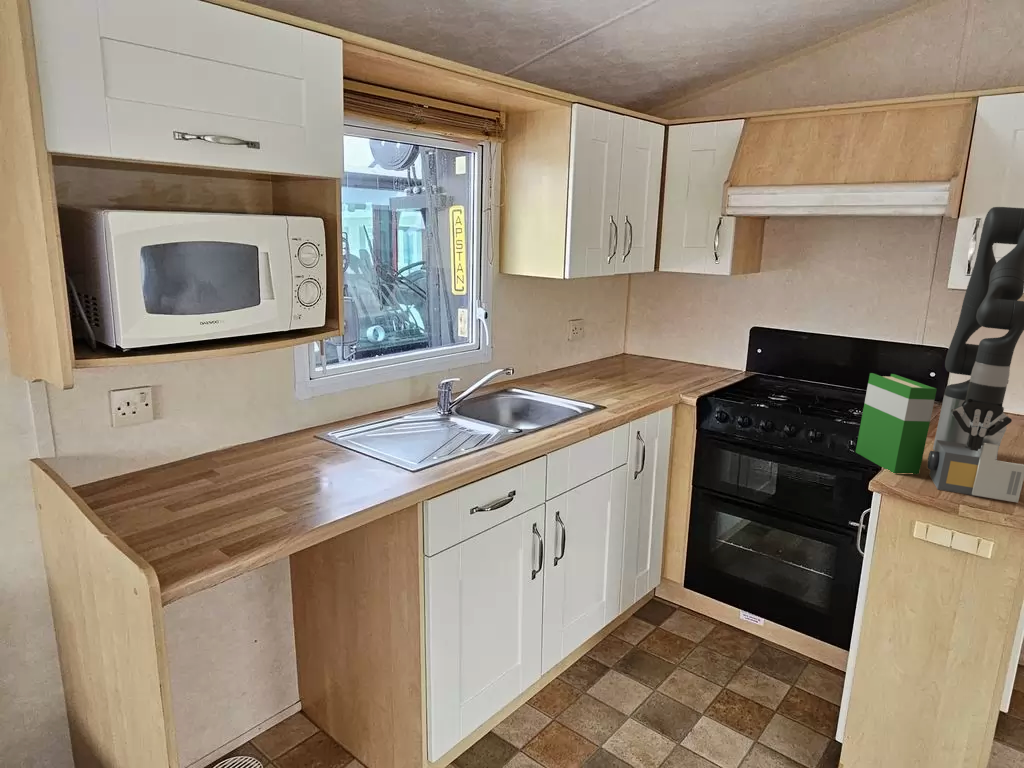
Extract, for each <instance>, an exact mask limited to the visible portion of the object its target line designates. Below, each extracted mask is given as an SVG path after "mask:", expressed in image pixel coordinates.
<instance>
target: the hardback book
mask: <svg viewBox="0 0 1024 768" xmlns="http://www.w3.org/2000/svg"><path fill="white" fill-rule="evenodd" d="M936 395H937V388H936V387H934V386H929V385H926V384H924V383H921V382H918V381H915V380H912V379H910V378H906V377H904V376H900V375H898V374H895V373H890V376H886V375H885V376H884V375H883V376H881V375H879V374H877V373H873V372H869V376H868V382H867V387H866V394H865V398H864V405H863V410H862V415H861V421H860V425H859V430H858V436H857V443H856V448H855V453H856V454H858V455H859V456H861V457H862V458H865V459H866V460H869V461H870V462H872V463H873V464H876V465H878V467H881V468H882V469H885V470H886V469H888V470H890V471H891V472H893V473H913V474H912V475H920V473H921V466H922V462H923V456H924V454H925V453H924V451H925V448H926V443H927V438H928V433H929V429H930V424H931V419H932V415H933V409H934V406H935V405H934V404H935V399H936ZM888 470H887V471H888ZM890 471H889V472H890ZM891 472H890V473H891ZM893 473H892V474H893Z"/></svg>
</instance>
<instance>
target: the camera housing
mask: <svg viewBox="0 0 1024 768" xmlns="http://www.w3.org/2000/svg"><path fill="white" fill-rule="evenodd" d="M981 450H982V448H980V449H978V451H974V450H970V449H969V447H968V446H967V443H966V444H962V443H955V442H949V441H942V440H936V445H935V450H934V449H933V450H930V451H929V452H928V456H927V464H926V465H927V470H929V474H928V475H929V477H930V478H931V481H932V482H933V484H934V485H935V487H936V489H937V490H939V491H940V490H941V491H947V492H950V493H957V494H962V495H967V496H968V495H969V496H973V497H974V496H976V495H972V490H973V485H974V481H975V476H976V472H977V468H978V463H979V459H980V455H981ZM976 497H977V496H976ZM979 497H980V498H983V497H982V496H979Z"/></svg>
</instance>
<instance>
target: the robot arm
mask: <svg viewBox="0 0 1024 768" xmlns="http://www.w3.org/2000/svg"><path fill="white" fill-rule="evenodd" d="M994 244H1002V245H1003V244H1004V245H1005V244H1006V245H1015V246H1014V247H1013V248H1012V249H1011V250H1010V251H1009V252H1007V254H1005V255H1004V256H1003V257H1001V258H1000V259H998V261H997V260H996V257H995V253H994V249H993V248H994V246H993V245H994ZM1023 295H1024V208H1023V207H1010V206H1009V207H1008V206H1007V207H1006V206H993V207H991V208H990V209H989V210H988V212H987V213H986V215H985V218H984V221H983V224H982V229H981V234H980V238H979V243H978V248H977V253H976V256H975V262H974V265H973V269H972V272H971V274H970V278H969V281H968V283H967V287H966V290H965V293H964V297H963V300H962V305H961V309H960V314H959V318H958V321H957V324H956V327H955V330H954V333H953V335H952V339H951V341H950V344H949V347H948V350H947V353H946V357H945V361H944V368H945V370H946V372H948V373H951V374H956V375H963V376H970V377H969V379H968V380H965V381H963V382H958V383H954V384H953V383H952V384H949V385H946V387H945V389H944V394H943V399H942V404H941V409H940V413H939V419H938V422H937V423H938V424H937V427H936V432H935V436H934V442H933V446H932V450H933V451H934V450H935V445H936V440H942V441H949V442H955V443H962V444H966V443H967V446H968V447H969V449H970V450H974V451H978V449H980V448H981V447H982V443H983V438H984V437H985V436H988V435H990V436H992V435H994V434H995V433H997V432H998V431H999V430H1001V429H1002V428H1004V427H1005V426H1006V427H1007V426H1008V425H1009V424H1011V423H1012V421H1013V420H1012V418H1011V417H1010V416H1008V415H1006V414H1005V411H1004V410H1005V409H1004V410H1003V407H1004V406H1003V404H1004V401H1005V395H1006V390H1007V387H1008V384H1009V381H1010V380H1009V378H1010V374H1011V373H1010V372H1011V370H1010V368H1011V365H1012V359H1013V355H1014V353H1015V352H1014V351H1015V348H1016V346H1017V343H1018V342H1019V339H1020V337H1021V336H1022V334H1023V332H1024V300H1020V299H1021V298H1022V296H1023ZM982 327H983V328H985V329H986V328H987V329H997V330H1003V331H1006V330H1007V333H1005V334H1004V335H1002V336H1000V337H999V336H998V337H986V338H983V339H981V340H980V342H979V344H975V343H974V344H973V343H967V342H968V341H969V339H970V337H972V335H973V334H974V333H976V332H977V331H978V330H979V329H980V328H982ZM997 417H999V418H998V421H997V422H996V423H994V424H993V425H992V426H990V427H989V428H988V426H989V423H990V422H992V421H993V420H995V419H996V418H997ZM978 426H979V427H978ZM977 429H978V430H977Z"/></svg>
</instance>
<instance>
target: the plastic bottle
mask: <svg viewBox="0 0 1024 768" xmlns="http://www.w3.org/2000/svg"><path fill="white" fill-rule="evenodd" d="M1002 407H1003V410H1005V407H1004V406H1002ZM998 418H999V417H997V418H996V419H995V420H993V421H992V422H990V423H989V426H988V428H989V427H990V426H992V425H993V424H994V423H996V422H997V421H998ZM978 427H979V426H978ZM977 430H978V429H977ZM1006 431H1007V425H1006V426H1005V427H1004V428H1002V429H1001V430H999V431H998V432H997V433H995V434H994V435H992V436H990V435H988V436H985V437H984V438H983V443H989V444H996V445H998V450H997V455H996V459H995V460H997V461H998V453H999V449H1000V446H1001V443H1002V441H1003V438H1004V435H1005V433H1006ZM983 443H982V446H983ZM981 448H982V447H981Z"/></svg>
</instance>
